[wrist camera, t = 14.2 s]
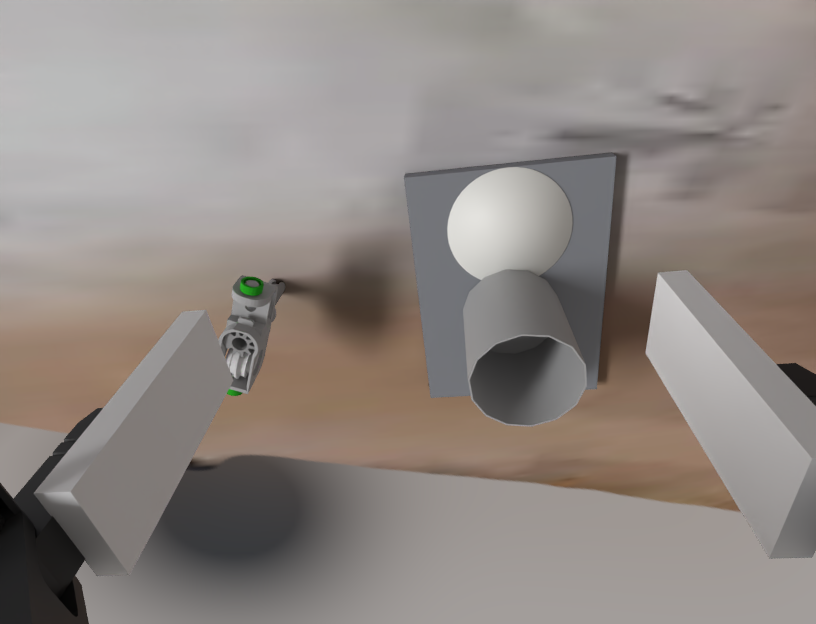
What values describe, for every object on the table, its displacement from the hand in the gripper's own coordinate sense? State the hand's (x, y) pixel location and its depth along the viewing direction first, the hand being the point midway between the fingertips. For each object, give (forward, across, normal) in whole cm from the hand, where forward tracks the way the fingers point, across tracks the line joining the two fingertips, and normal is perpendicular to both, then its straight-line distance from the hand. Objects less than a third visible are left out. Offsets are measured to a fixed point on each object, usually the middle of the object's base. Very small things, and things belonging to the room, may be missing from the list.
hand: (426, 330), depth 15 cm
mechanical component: (+28, -15, -12) cm, 34 cm away
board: (+27, +6, -14) cm, 31 cm away
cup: (+26, +6, -16) cm, 31 cm away
